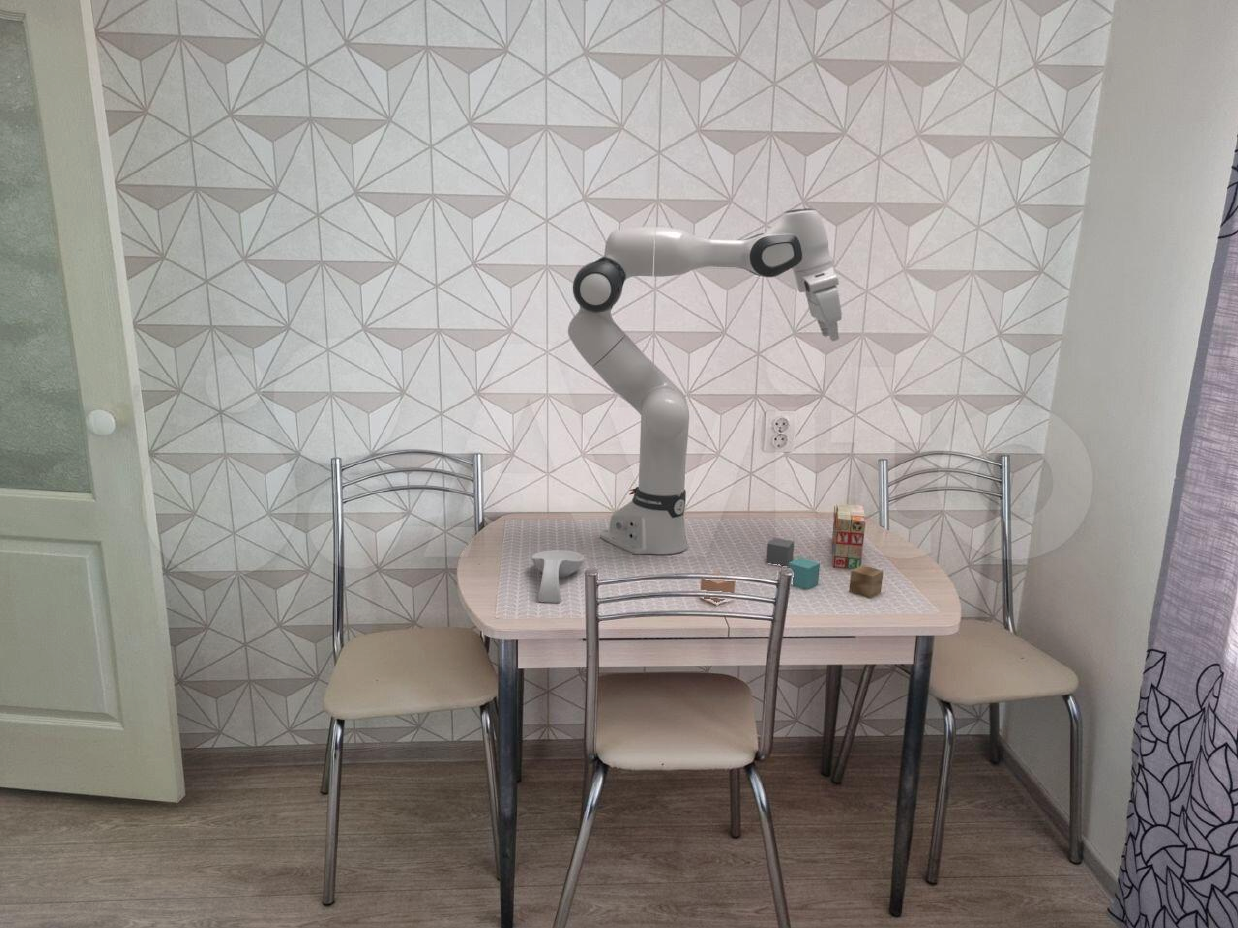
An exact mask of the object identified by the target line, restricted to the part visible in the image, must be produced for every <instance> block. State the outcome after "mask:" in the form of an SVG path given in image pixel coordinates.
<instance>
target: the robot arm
mask: <svg viewBox="0 0 1238 928" xmlns="http://www.w3.org/2000/svg"><path fill="white" fill-rule="evenodd" d="M820 215H821V214H820V213H819V212H818V211H817V210H815V209H813V208H811V207H807V208H805V207H804V208H798V209H790V210H787V211H784V212H783V213H782V216H780V218H779V219H778V220H777V221H776V223H774V224H773V225H772V226H771V227H770V228H768V229H767V230H766V231H765V232H761V233H758V234H755V235H753V236H750V237H748V238H746V239H736V240H735V239H713V238H711V239H710V238H703V237H701V236H697V235H696V234H693V233H690V232H688V231H687V230H682V229H679V228H674V227H666V226H651V225H650V226H647V225H646V226H633V227H631V226H630V227H624V228H619V229H616V230H614V231H612V232H610V234H609V235H608V237H607V239H606V242H605V245H604V253H603V256H602V257H600V258H598V259H596V260H594V261H592V262H591V261H590V262H588V263H586V264H585V265H583V266H582V267H580V269H579V270H578V271H577V273H576V274H575V277H574V280H573V282H572V295H573V297H574V299H575V301H576V303H577V304H578V305H579V309H578V312H577V313H576V314H575V315H574V316H573V317H572V319H571V320H570V321H569V324H568V328H567V335H568V338H569V339H570V341H571V342H572V344H573V346H574V347H575V348H576V350H577V352H578V353H579V354H580V355H581V356H582V358H583V359H584V360H585V362H586V363H588V365H589V366H590V367H591V368H592V369H593V371H595V373H596V374H598V375H599V376H600V378H601V379H602V380H603V381H604V382H605V383H606V384H607V385H608V386H609V387H610V389H612V391H614V392H615V393H616V394H617V395H619V396H620V397H621V398H622V399H623V400H624V401H626V402H627V404H629V405H630V406H631V407H632V408H634V409H635V411H637V412H638V413H639V415H640V436H639V437H640V439H639V440H640V442H639V468H638V486H637V487H635V488H633V489H629V495H633V494H634V495H633V496H632V500H631V501H629V502H628V503H626V504H625V505H624V506H622V507H621V508H619V509H617V510H616V511H615V512H613V514H612V516H611V518H610V521H609V522H610V523H609V527H607V528H605V529H604V530H601V532H600V533H599V538H600V539H602V540H604V541H607V542H608V543H610V544H613V545H614V546H617V547H618V548H620V549H623V550H625V551H628V552H629V553H631V554H633V555H671V554H678V553H681V552H684V551H685V550H687V549H688V547H689V545H688V540H687V535H686V528H685V515H684V513H685V509H686V508H685V507H686V502H687V501H686V496H687V495H686V493H687V491H686V490H685V479H686V478H685V477H686V464H687V463H686V462H687V461H686V459H687V450H688V439H689V436H688V435H689V426H690V425H689V424H690V410H689V406H688V401H687V398H686V396H685V394H684V392H683V391H682V390H681V389H680V387H678V386H677V385H676V383H674V382H673V381H672V380H671V378H669V377H668V376H667V375H666V374H665V372H664V371H662V370H661V368H659V367H658V366H657V365H656V363H654V362H653V361H651V359H649V358H648V356H647V355H646V354H645V353H644V352H643V351H642V350H641V349H640V348H639V346H637V345H636V343H634V341H633V340H632V339H631V338H630V337H629V336H628V335H627V334H626V333H625V331H623V330H622V328H621V327H619V325H618V324H617V323H616V321H615V320H614V318H613V316H612V309H613V307H614V306H615V305H616V304H617V303H618V302H619V300H620V298H621V297H622V294H623V286H624V285H625V281H626V280H627V279H630V278H633V277H659V278H661V277H672V276H679V275H684V274H686V273H689V272H691V271H694V270H696V269H702V268H709V267H711V268H712V267H713V268H736V269H737V268H739V269H743V270H745V271H748V272H749V273H751V274H753V275H755V276H758V277H763V278H771V279H772V278H776V277H779V276H781V275H783V274H784V273H785V272H787V271H789V270H790V269H791V270H793V273H794V276H795V280H796V285H797V289H798V292H800V293H804V294H805V297H806V299H807V305H808V309H809V313H810V316H811V317H813V318H814V319H817V323H818V326H819V328H820V331H821V334H822V336H823V337H825V338H827V337H829V339H830V341H831V342H835V341H838V340H839V339H840V336H839V335H840V334H839V327H838V325H839V324H838V322H839V321H842V315H843V313H842V307H841V301H840V294H839V289H838V286H839V284H840V282H839V278H838V274H837V273H836V268H835V264H834V261H833V258H832V255H831V254H830V251H829V239H828V235H827V232H826V229H825V226H824V225H825V224H824V221H823V219H822V217H821V216H820Z"/></svg>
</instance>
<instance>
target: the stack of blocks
mask: <svg viewBox="0 0 1238 928" xmlns="http://www.w3.org/2000/svg"><path fill="white" fill-rule="evenodd" d="M832 522H833V523H832V525H833V526H832V536H831V538H832V539H831V541H832V542H831V544H832V545H831V546H832V547H831V548H832V550H831V551H832V568H835V569H846V570H853V569H855V568H857V567H859V566H861V565H862V553H863V546H864V540H865V529H866V523H867V521H866V515H865V510H864V508H863V505H859V504H845V503H844V504H843V503H836V504H834V508H833V521H832Z"/></svg>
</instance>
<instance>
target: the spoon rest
mask: <svg viewBox="0 0 1238 928" xmlns="http://www.w3.org/2000/svg"><path fill="white" fill-rule="evenodd" d="M530 559H531V562H532V563H533V565H534V566H535V567H536V569H537V570H539V572H541V573H542V575H541V580H540V585H539V588H538V594H537V595H538V596H537V602H539V603H548V604H549V603H550V604H553V603H554V604H560V603H561V602H562V597H561V587H560V579H561V578H567V577H569V576H571V575H572V574H574V573H575V572H577V571H578V570H579V569H580V568H581V566H582V565H583V563H584V561H585V556H584V555H583V554H582V553H579V552H576V551H572V550H561V549H560V550H559V549H558V550H557V549H556V550H555V549H553V550H552V549H551V550H544V551H543V550H542V551H538V552H536V553H534V554H532V555H531V557H530Z"/></svg>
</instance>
